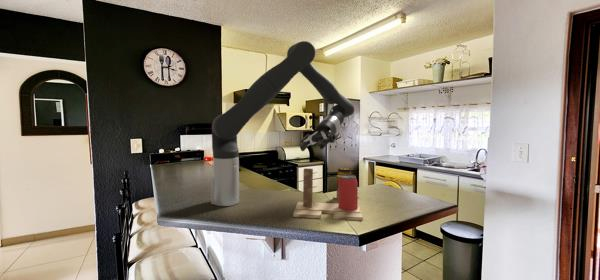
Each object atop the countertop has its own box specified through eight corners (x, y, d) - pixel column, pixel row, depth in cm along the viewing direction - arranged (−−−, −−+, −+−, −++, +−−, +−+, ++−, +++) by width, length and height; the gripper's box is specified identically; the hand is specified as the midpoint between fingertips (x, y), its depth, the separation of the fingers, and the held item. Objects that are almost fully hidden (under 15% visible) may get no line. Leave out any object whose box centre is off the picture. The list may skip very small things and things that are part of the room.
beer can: (356, 214, 87) (356, 178, 86) (336, 212, 89) (336, 177, 88) (358, 208, 93) (358, 174, 92) (340, 206, 95) (340, 174, 95)
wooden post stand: (295, 211, 89) (295, 171, 88) (298, 204, 97) (298, 167, 96) (360, 214, 87) (361, 173, 86) (358, 207, 95) (359, 168, 94)
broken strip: (292, 216, 84) (293, 213, 84) (294, 212, 88) (294, 209, 88) (362, 220, 82) (362, 217, 82) (361, 216, 86) (361, 213, 86)
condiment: (332, 197, 107) (332, 168, 107) (346, 194, 112) (346, 166, 112) (345, 201, 101) (345, 170, 101) (359, 198, 107) (360, 168, 106)
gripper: (310, 122, 111) (291, 141, 99) (340, 116, 103) (323, 137, 91) (317, 137, 114) (299, 158, 102) (346, 133, 105) (330, 155, 93)
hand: (310, 148), depth 96 cm, fingers open, 8 cm apart
